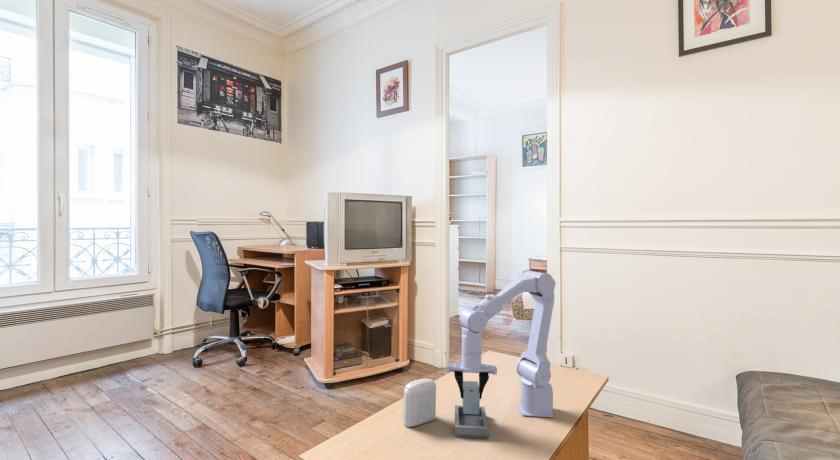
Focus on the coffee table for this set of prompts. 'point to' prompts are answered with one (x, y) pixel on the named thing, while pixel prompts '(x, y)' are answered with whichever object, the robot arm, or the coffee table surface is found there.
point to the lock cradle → (470, 424)
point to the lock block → (471, 397)
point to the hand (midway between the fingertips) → (470, 397)
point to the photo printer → (419, 402)
